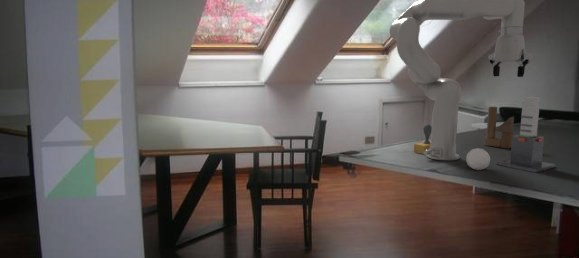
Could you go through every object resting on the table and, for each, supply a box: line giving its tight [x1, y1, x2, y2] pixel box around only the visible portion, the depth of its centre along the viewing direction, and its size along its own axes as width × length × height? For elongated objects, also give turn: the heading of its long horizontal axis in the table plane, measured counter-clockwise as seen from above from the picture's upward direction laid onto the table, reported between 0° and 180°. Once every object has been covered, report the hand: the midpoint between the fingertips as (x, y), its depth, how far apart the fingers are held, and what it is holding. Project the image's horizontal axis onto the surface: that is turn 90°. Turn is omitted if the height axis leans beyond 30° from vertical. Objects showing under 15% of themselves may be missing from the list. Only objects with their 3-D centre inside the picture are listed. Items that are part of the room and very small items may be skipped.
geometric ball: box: [465, 147, 491, 171], centre depth 149 cm, size 8×8×8 cm
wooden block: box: [483, 105, 515, 149], centre depth 189 cm, size 4×11×18 cm, turn 43°
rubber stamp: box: [413, 124, 432, 155], centre depth 179 cm, size 10×6×12 cm, turn 123°
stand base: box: [496, 134, 556, 173], centre depth 154 cm, size 14×14×11 cm
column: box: [519, 96, 541, 138], centre depth 152 cm, size 5×4×18 cm
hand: (507, 76), depth 166 cm, fingers open, 9 cm apart
